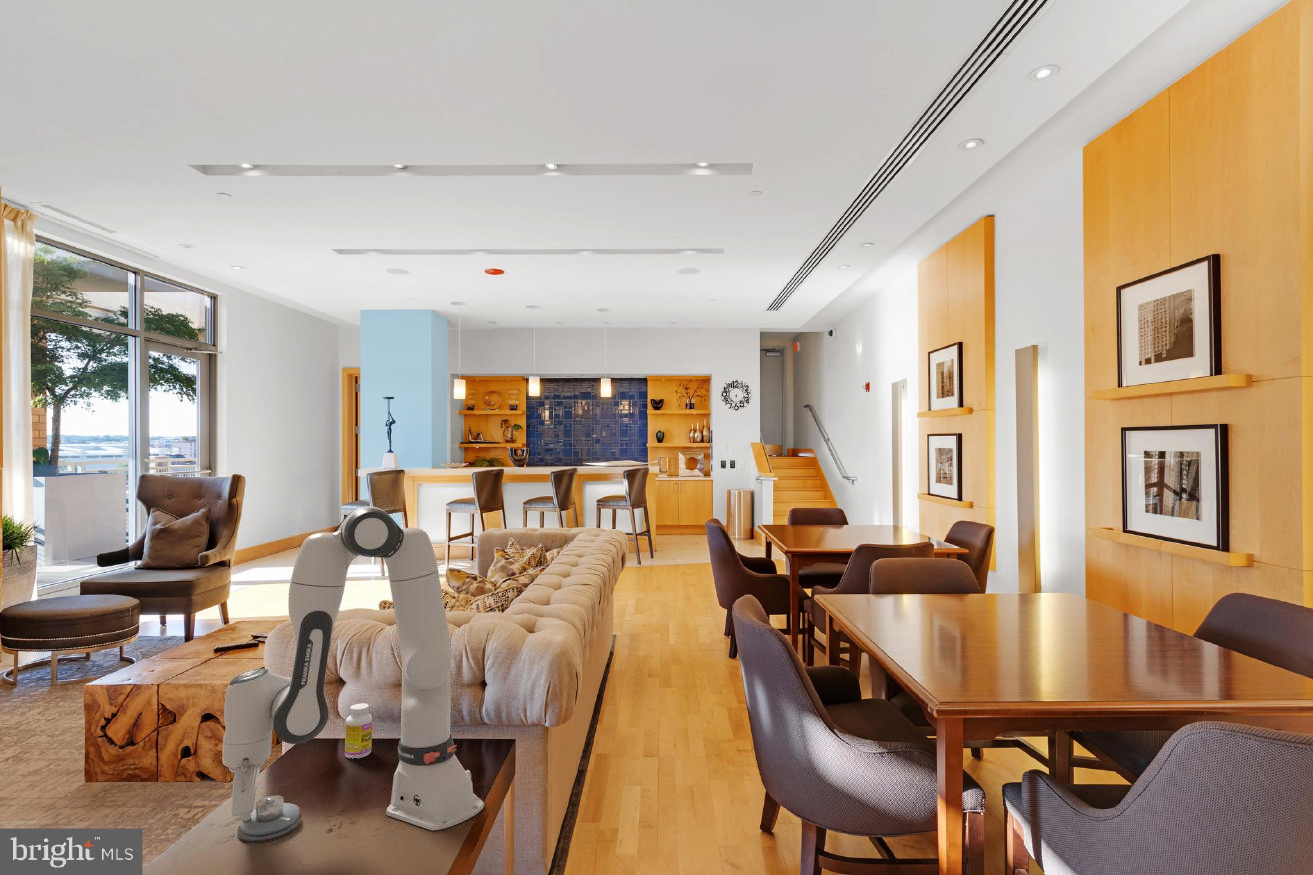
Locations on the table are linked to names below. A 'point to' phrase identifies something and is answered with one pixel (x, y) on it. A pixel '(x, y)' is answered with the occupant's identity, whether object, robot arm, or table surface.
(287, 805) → the turntable
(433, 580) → the robot arm
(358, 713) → the supplement bottle
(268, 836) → the turntable base
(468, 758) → the table surface
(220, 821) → the table surface
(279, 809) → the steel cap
